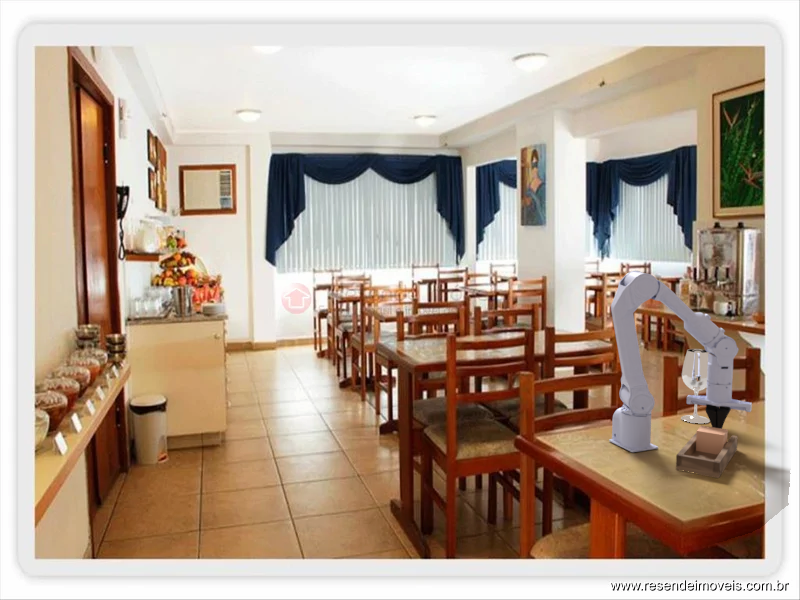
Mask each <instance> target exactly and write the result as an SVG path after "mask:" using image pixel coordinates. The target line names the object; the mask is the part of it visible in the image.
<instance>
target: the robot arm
mask: <svg viewBox="0 0 800 600" xmlns="http://www.w3.org/2000/svg"><path fill="white" fill-rule="evenodd" d="M650 299H651V300H654V301H658V302H661V303H662V304H663V305H664V306H665V307H667V308H668V310H670V311H671V312H672V313H673V314H674V315H676V316H677V317H678V318H679V319H681V320H682V322H683V329H684V330H685V332H687V333H688V334H689V335H691V337H693V338H694V339H695V340H696V341H697V342H698V343H699V344H700V345H701V346H702V347H704V348H703V349H704V350H706V351H707V352H709V353H708V367H707V387H706V390H705V392H706V394H705V395H698V396H696V395H695V394H688V395H687V396H686V404H687V405H695V404H697V406H698V405H699V406H704V407H705V413H706V415H707V418H708V419H709V420H710V422H709V423H710V424H711V427H714V428H721V429H723V426H724V424H725V422H726V419H727V417H728V415H729V413H730V411H731V410H738V411H743V412H744V411H745V412H746V413H751V412H752V408H753V403H752V402H750V401H743V400H738V399H734V398H733V397H732V395H733V380H734V379H733V377H734V359H735V357H736V356H738V355H737V354H738V353H739V347H738V345H737V342H736V340H735V339H734V338H732V337H730V336H728V335H726V334H725V333H726V330H725V329H724V328H722V327H719V326H717V324H716V323H714V322H713V321H712V320H711V319H712V316H710V314H708V313H704V312H701V311H699V312H694V311H693V310H692V309H691V308H690V307H689V306H688V305H687V304H686V303H685V302H684V301H683V300H682V299H681V298H680V297H679V296H678V295H677V294H676V293H675V292H674V291H673V290H671V288H670V287H669V286H667V285H666V284H665V283H664V282H662V281H660V280H659V279H657V278H656V277H655V276H654V275H653V274H650V273H644V272H643V271H640V270H631V271H628V273H626V274H625V275H624V276H623V277H622V278H621V279H620V280H619V281H618V287H617V290H616V292H615V294H614V298H613V300H612V302H611V304H610V310H611V317H612V322H613V323H612V324H613V329H614V334H615V340H616V345H617V351H618V357H619V364H620V369H621V370H620V371H621V377H620V383H621V387H620V389H619V398H620V400H621V401H622V403H623V404H622V406H621V407H619V408H617V409H616V410H615V411H614V413H613V415H612V423H611V425H612V427H611V428H612V429H611V430H612V431H611V438H610V439H608V441H609V442H610V443H612V444H614V445H616V446H618V447H620V448H622V449H624V450H626V451H629V452H630V453H638V452H644V451H646V452H647V451H651V450H658V449H659V446H658V445H655V444H653V443H652V442H651V440H652V439H651V438H652V437H651V436H652V435H651V434H652V433H651V432H652V431H651V430H652V411H653V409H654V408H655V403H656V402H655V398H654V395H653V394H652V393H651V392H650V389H649V385H648V382H647V380H646V378H645V375H644V370H643V365H642V357H641V350H640V346H639V339H638V334H637V328H636V323H635V316H634V315H635V314H634V313H635V312H636V311H637V309H638V308H640V306H641V305H642V304H644V303H645V302H647V301H649V300H650Z"/></svg>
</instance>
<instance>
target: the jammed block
mask: <svg viewBox="0 0 800 600" xmlns="http://www.w3.org/2000/svg"><path fill="white" fill-rule="evenodd" d="M728 431H729V430H728V429H726V428H722V429H721V428H714V427H712V426H706V425H700V426H699V427H698V429H697V430H696V432H697V433H696V432H695V433H696V451H700V452H705V453H711V454H717V455H719V453H720V452H721V450H722V449H723V448H724V446H725V445H726V443H727V442H728V435H729V434H728Z"/></svg>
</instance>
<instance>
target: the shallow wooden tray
mask: <svg viewBox="0 0 800 600" xmlns="http://www.w3.org/2000/svg"><path fill="white" fill-rule="evenodd" d="M696 433H697V431H696V432H695V434H694V435H692V436H691V438H690V439H689V440H688V441H687V442H686V444H685V445H684V446H683V447H682V448H681V449H680V450H679V451H678V453H677V454H676V459H675V461H676V462H675V470H676V469H677V470H676V471H679V470H684V471H683V472H685V471H689V472H688V473H690V472H694V473H693V474H695V473H697V474H696V475H700V474H701V475H700V476H706V477H711V478H717V479H719V478H720V477H721V475H722V474H723V472H724V471H725V469H726V468H727V466H728V464H729V463H730V462H731V460H732V458H733V457H734V455H735V453H736V452H737V450H738V435H731V436H730V438H729V439H728V440H727V443H726V445H725V446H724V448H723V449H722V450H721V452H720V453H719V455H717V454H711V453H705V452H700V451H696Z"/></svg>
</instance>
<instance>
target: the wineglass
mask: <svg viewBox="0 0 800 600" xmlns="http://www.w3.org/2000/svg"><path fill="white" fill-rule="evenodd" d="M708 353H709V352H707V351H706V350H705V349H704V348H703V349H700V348H689V349H687V350H686V354H685V357H684V361H683V365H682V371H681V378H682V381H683V383H684V385H686V387H687V388H689V389H690V390H692V391H693V393H694V394H693V395H696V396H699V392H700V391H703V390H705V389H707V367H708ZM709 354H710V353H709ZM693 405H694V408H693V409H694V410H693V414H687V415H682V416H681V417H680V420H682V421H683V420H684V421H683V422H685V421H687V422H686V423H689V422H690V423H689V424H695V423H698V424H699V425H704V423H705V424H709V423H711V422H710V419H709V417H706V416H702V415H699V414H698V405H697V404H693ZM698 424H697V425H698Z"/></svg>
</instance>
